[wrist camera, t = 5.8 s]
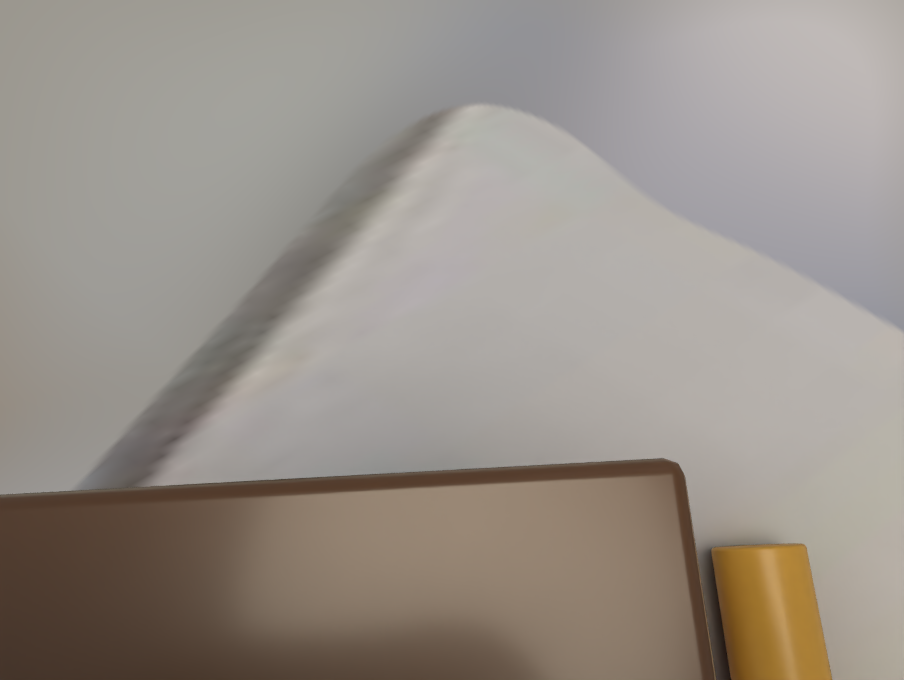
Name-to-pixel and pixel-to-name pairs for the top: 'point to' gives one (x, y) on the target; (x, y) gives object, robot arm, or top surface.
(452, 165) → the top surface
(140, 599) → the bar
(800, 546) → the twin coloured cylinders
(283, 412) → the top surface
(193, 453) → the top surface
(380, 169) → the top surface
